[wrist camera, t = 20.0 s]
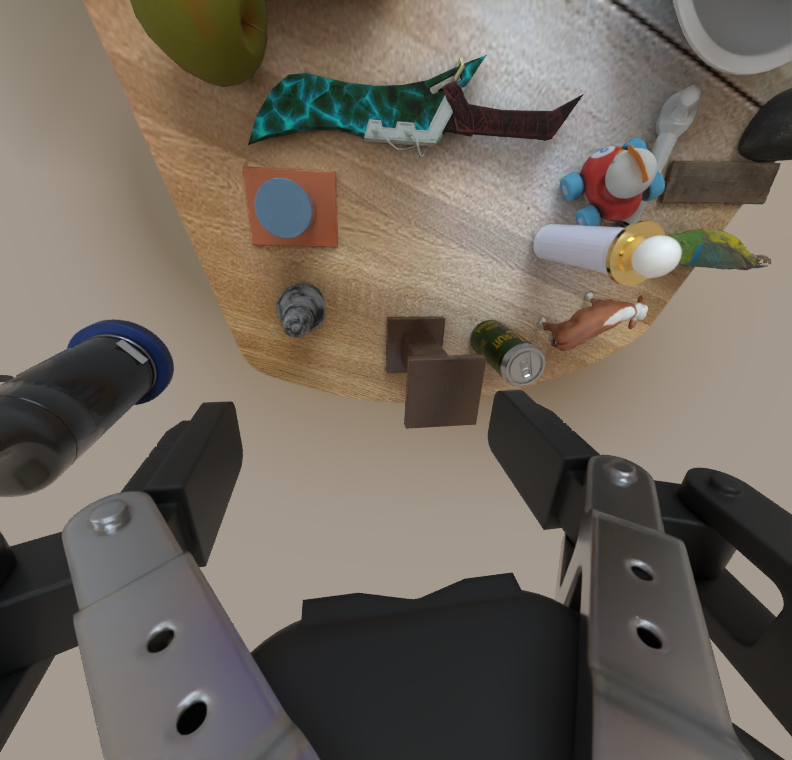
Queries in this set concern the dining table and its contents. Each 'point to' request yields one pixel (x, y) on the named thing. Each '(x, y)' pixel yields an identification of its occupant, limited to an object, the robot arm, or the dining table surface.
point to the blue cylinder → (284, 208)
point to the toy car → (614, 183)
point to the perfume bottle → (611, 249)
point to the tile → (319, 189)
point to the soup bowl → (738, 33)
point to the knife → (396, 111)
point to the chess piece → (300, 309)
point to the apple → (208, 35)
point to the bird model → (716, 251)
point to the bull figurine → (593, 321)
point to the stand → (433, 374)
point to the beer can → (508, 352)
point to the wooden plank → (718, 182)
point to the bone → (671, 130)
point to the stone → (770, 131)
